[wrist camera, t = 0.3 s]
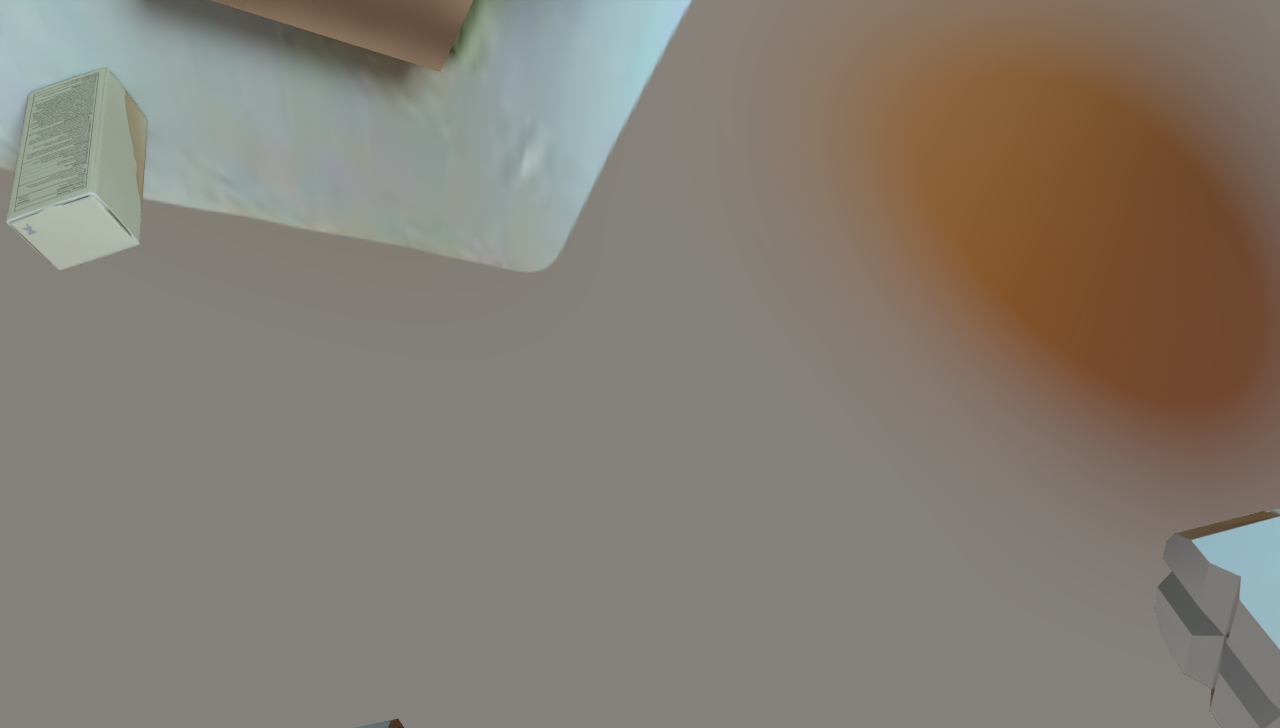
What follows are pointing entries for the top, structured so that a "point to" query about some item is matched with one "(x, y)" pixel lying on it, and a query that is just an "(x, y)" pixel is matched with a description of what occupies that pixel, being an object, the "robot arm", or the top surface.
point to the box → (80, 170)
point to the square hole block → (374, 23)
